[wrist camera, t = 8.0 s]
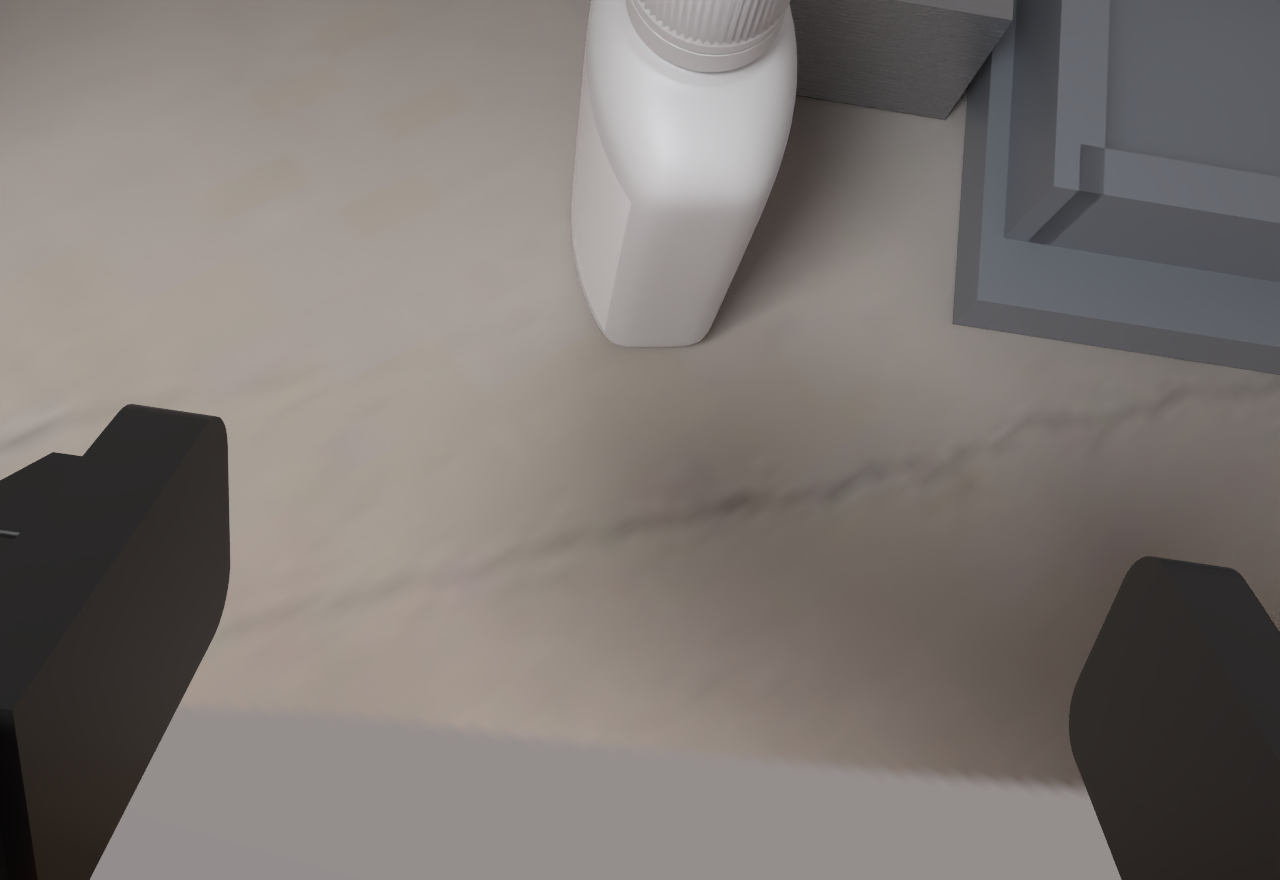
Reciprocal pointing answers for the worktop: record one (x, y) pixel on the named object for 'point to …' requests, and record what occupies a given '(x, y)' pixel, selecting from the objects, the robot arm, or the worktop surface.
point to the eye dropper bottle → (676, 157)
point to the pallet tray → (1127, 179)
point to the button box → (895, 50)
